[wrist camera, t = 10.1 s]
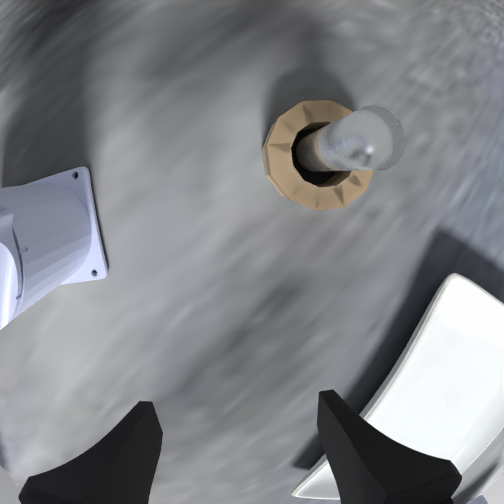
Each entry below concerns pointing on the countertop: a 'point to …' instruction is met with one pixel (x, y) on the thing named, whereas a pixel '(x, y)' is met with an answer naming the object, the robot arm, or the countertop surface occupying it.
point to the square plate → (439, 384)
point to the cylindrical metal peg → (354, 143)
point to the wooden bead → (281, 165)
